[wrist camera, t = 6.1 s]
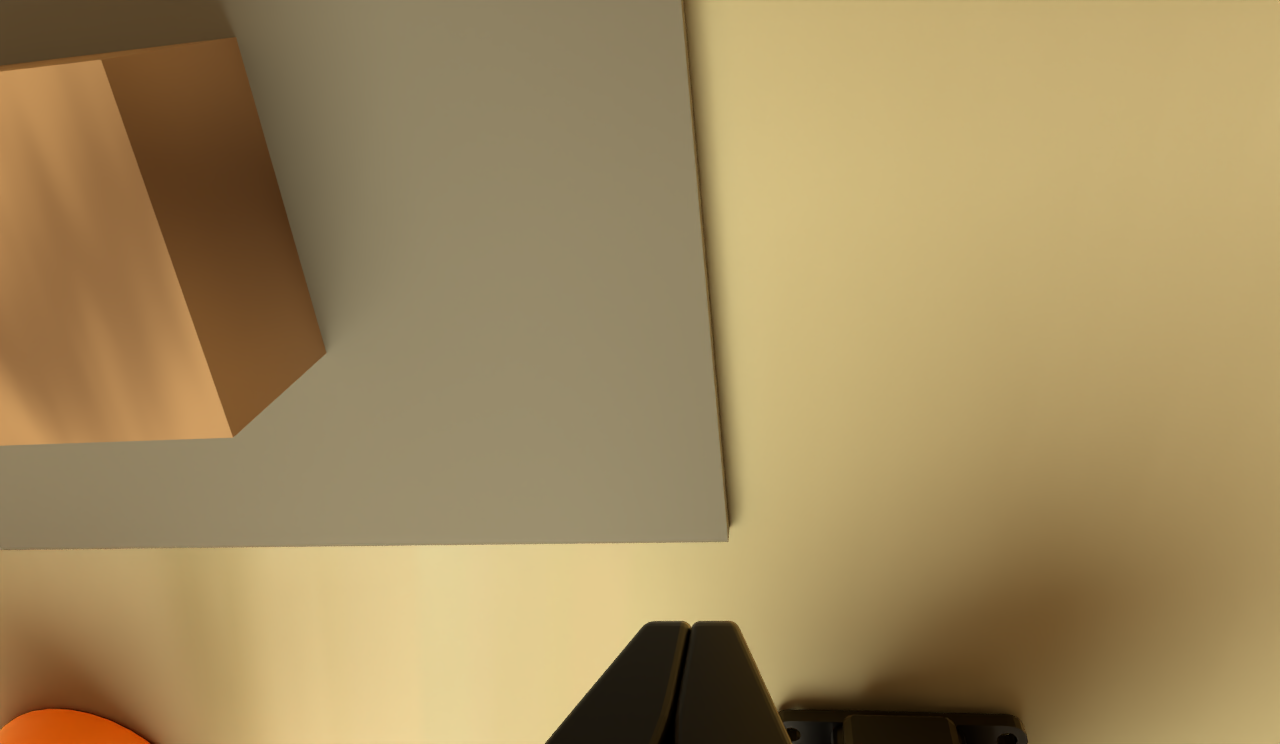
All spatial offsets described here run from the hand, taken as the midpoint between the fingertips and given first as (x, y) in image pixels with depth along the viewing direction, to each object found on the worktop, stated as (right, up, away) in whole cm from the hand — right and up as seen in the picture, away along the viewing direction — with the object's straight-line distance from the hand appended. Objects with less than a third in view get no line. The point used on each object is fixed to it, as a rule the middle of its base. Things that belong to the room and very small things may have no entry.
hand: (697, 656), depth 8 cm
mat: (-10, +6, +12) cm, 17 cm away
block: (-9, +5, +9) cm, 14 cm away
